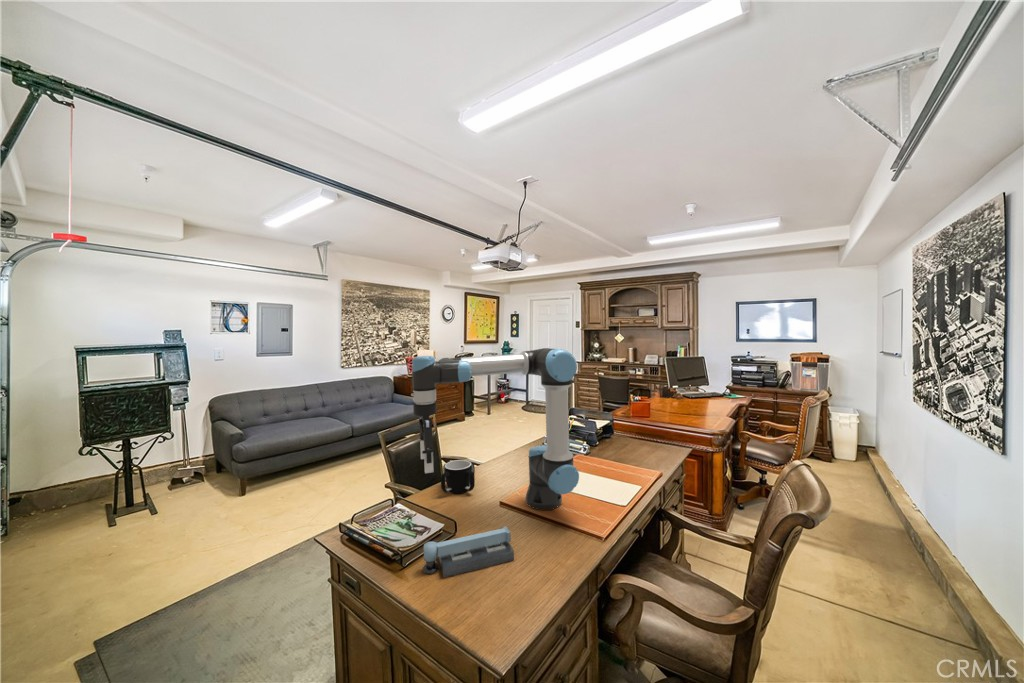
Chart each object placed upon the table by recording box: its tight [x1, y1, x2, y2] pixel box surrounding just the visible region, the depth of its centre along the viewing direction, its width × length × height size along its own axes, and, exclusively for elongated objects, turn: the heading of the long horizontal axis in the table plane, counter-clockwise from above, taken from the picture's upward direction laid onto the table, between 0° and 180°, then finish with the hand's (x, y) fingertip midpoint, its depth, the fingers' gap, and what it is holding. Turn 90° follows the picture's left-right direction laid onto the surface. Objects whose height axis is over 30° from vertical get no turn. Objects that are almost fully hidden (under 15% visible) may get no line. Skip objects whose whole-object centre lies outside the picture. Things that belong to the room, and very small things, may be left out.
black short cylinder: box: [422, 559, 440, 576], centre depth 111 cm, size 5×5×4 cm
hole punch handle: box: [423, 526, 512, 562], centre depth 115 cm, size 27×4×4 cm, turn 110°
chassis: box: [438, 541, 515, 579], centre depth 116 cm, size 22×11×3 cm, turn 110°
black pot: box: [440, 459, 476, 495], centre depth 166 cm, size 16×16×12 cm
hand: (426, 465), depth 122 cm, fingers open, 13 cm apart
